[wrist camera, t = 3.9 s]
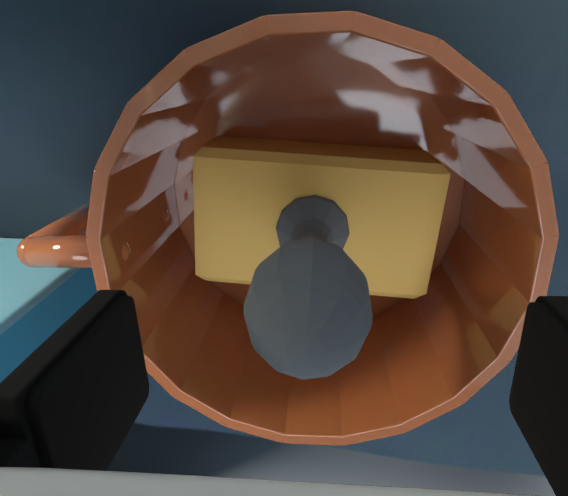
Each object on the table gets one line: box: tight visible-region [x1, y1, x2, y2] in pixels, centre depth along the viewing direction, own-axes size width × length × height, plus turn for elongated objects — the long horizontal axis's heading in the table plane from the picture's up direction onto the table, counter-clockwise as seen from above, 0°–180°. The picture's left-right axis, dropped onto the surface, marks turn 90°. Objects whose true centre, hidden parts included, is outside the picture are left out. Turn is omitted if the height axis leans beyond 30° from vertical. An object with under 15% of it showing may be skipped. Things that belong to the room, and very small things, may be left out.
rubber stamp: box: [193, 136, 451, 380], centre depth 16 cm, size 10×6×12 cm, turn 87°
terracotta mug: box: [16, 11, 559, 446], centre depth 18 cm, size 18×15×8 cm
